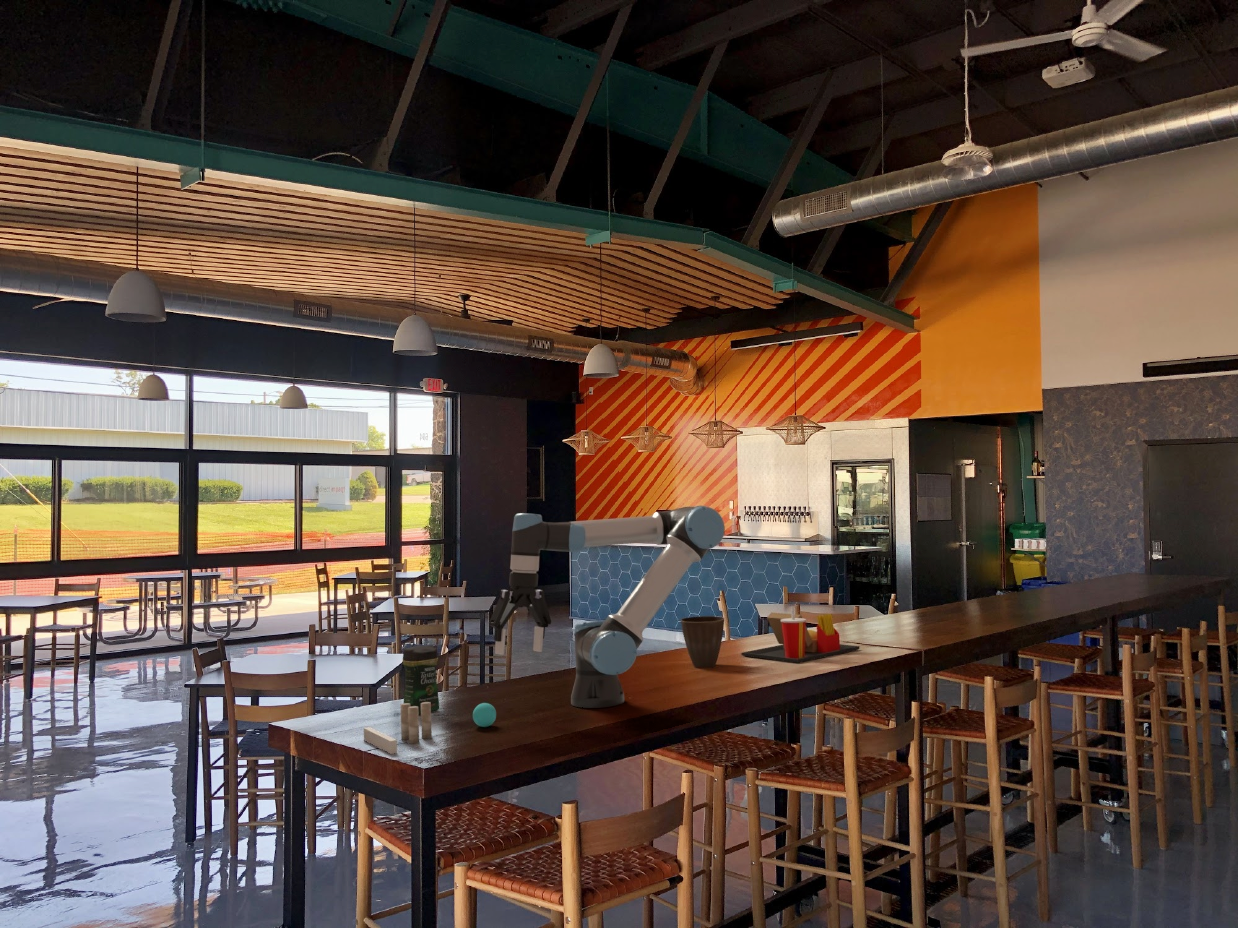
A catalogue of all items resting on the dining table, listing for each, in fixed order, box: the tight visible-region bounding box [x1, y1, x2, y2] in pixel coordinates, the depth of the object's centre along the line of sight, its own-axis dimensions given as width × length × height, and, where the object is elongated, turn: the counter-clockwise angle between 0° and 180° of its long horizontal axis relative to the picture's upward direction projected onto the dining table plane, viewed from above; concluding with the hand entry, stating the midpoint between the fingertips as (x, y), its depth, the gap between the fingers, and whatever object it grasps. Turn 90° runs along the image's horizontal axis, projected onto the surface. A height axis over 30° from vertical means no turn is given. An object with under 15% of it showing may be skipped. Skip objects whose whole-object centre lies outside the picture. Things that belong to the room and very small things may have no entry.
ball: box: [472, 702, 497, 728], centre depth 239 cm, size 6×6×6 cm
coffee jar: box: [402, 644, 440, 716], centre depth 260 cm, size 10×8×19 cm
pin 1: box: [399, 702, 410, 741], centre depth 229 cm, size 2×2×8 cm
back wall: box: [363, 726, 398, 755], centre depth 223 cm, size 2×18×3 cm, turn 35°
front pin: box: [420, 702, 433, 740], centre depth 230 cm, size 2×2×8 cm
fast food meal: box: [740, 606, 861, 664], centre depth 333 cm, size 26×35×18 cm
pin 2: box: [408, 706, 420, 745], centre depth 225 cm, size 2×2×8 cm
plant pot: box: [680, 615, 725, 669], centre depth 315 cm, size 15×15×16 cm
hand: (518, 652), depth 243 cm, fingers open, 13 cm apart
